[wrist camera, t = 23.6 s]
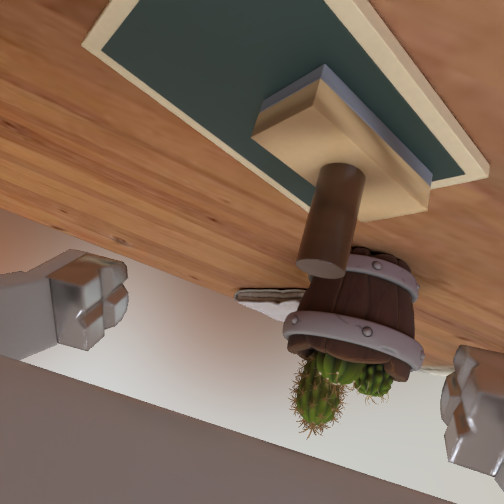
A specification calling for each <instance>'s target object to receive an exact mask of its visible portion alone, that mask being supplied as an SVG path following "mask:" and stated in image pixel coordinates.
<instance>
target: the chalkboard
mask: <svg viewBox="0 0 504 504" xmlns="http://www.w3.org/2000/svg"><path fill="white" fill-rule="evenodd" d="M81 46H82V47H84V48H85V49H87V50H88V51H89V52H91V53H92V54H93V55H95V56H96V57H97V58H99V59H100V60H102V61H103V62H104V63H106V64H107V65H108V66H110V67H111V68H112V69H114V70H115V71H117V72H118V73H119V74H121V75H122V76H123V77H125V78H126V79H127V80H129V81H130V82H131V83H133V84H134V85H136V86H137V87H138V88H140V89H141V90H142V91H144V92H145V93H146V94H148V95H149V96H151V97H152V98H153V99H155V100H156V101H157V102H159V103H160V104H161V105H163V106H164V107H166V108H167V109H168V110H170V111H171V112H172V113H174V114H175V115H176V116H178V117H179V118H180V119H182V120H183V121H185V122H186V123H187V124H189V125H190V126H191V127H193V128H194V129H195V130H197V131H198V132H200V133H201V134H202V135H204V136H205V137H206V138H208V139H209V140H210V141H212V142H213V143H214V144H216V145H217V146H219V147H220V148H221V149H223V150H224V151H225V152H227V153H228V154H229V155H231V156H232V157H234V158H235V159H236V160H238V161H239V162H240V163H242V164H243V165H244V166H246V167H247V168H249V169H250V170H251V171H253V172H254V173H255V174H257V175H258V176H259V177H261V178H262V179H263V180H265V181H266V182H268V183H269V184H270V185H272V186H273V187H274V188H276V189H277V190H278V191H280V192H281V193H283V194H284V195H285V196H287V197H288V198H289V199H291V200H292V201H293V202H295V203H296V204H298V205H299V206H300V207H302V208H303V209H304V210H306V211H307V212H308V213H309V210H310V206H311V202H312V199H313V195H314V191H315V186H313V185H312V184H311V183H310V182H308V181H307V180H306V179H304V178H303V177H302V176H300V175H299V174H298V173H296V172H295V171H294V170H292V169H291V168H290V167H289V166H287V165H286V164H285V163H283V162H282V161H281V160H279V159H278V158H277V157H275V156H274V155H273V154H272V153H270V152H269V151H268V150H266V149H265V148H264V147H262V146H261V145H260V144H258V143H257V142H256V141H254V140H253V139H252V138H251V135H252V132H253V129H254V126H255V123H256V121H257V118H258V115H259V112H260V109H261V106H262V103H263V101H264V100H265V99H267V98H268V97H270V96H272V95H273V94H275V93H277V92H278V91H280V90H282V89H283V88H285V87H287V86H288V85H290V84H292V83H293V82H295V81H297V80H298V79H300V78H302V77H303V76H305V75H307V74H308V73H310V72H312V71H313V70H315V69H317V68H318V67H320V66H322V65H323V64H326V65H327V66H328V67H329V68H330V69H331V70H332V71H333V72H334V73H335V74H336V75H337V76H338V77H339V78H340V79H341V80H342V81H343V82H344V83H345V84H346V85H347V86H348V88H349V89H350V90H351V91H352V92H353V93H354V94H355V95H356V96H357V97H358V98H359V99H360V100H361V101H362V102H363V103H364V104H365V105H366V106H367V107H368V108H369V109H370V110H371V111H372V112H373V113H374V114H375V115H376V116H377V117H378V118H379V119H380V120H381V121H382V122H383V123H384V124H385V125H386V126H387V127H388V129H389V130H390V131H391V132H392V133H393V134H394V135H395V136H396V137H397V138H398V139H399V140H400V141H401V142H402V143H403V144H404V145H405V146H406V147H407V148H408V149H409V150H410V151H411V152H412V153H413V154H414V155H415V156H416V157H417V158H418V159H419V160H420V161H421V162H422V163H423V164H424V165H425V166H426V167H427V169H428V170H429V171H430V172H431V173H432V174H433V176H432V183H431V189H435V188H440V187H445V186H450V185H455V184H460V183H464V182H469V181H474V180H479V179H484V178H488V175H489V164H488V162H487V161H486V159H485V158H484V157H483V155H482V154H481V153H480V151H479V150H478V149H477V147H476V146H475V145H474V143H473V142H472V141H471V139H470V138H469V136H468V135H467V134H466V132H465V131H464V130H463V128H462V127H461V126H460V124H459V123H458V122H457V120H456V119H455V118H454V116H453V115H452V114H451V112H450V111H449V109H448V108H447V107H446V105H445V104H444V103H443V101H442V100H441V99H440V97H439V96H438V95H437V93H436V92H435V91H434V89H433V88H432V87H431V85H430V84H429V82H428V81H427V80H426V78H425V77H424V76H423V74H422V73H421V72H420V70H419V69H418V68H417V66H416V65H415V64H414V62H413V61H412V60H411V58H410V57H409V55H408V54H407V53H406V51H405V50H404V49H403V47H402V46H401V45H400V43H399V42H398V41H397V39H396V38H395V37H394V35H393V34H392V33H391V31H390V30H389V28H388V27H387V26H386V24H385V23H384V22H383V20H382V19H381V18H380V16H379V15H378V14H377V12H376V11H375V10H374V8H373V7H372V6H371V4H370V3H369V1H368V0H110V1H109V2H108V4H107V5H106V7H105V8H104V10H103V11H102V13H101V14H100V16H99V17H98V19H97V20H96V21H95V23H94V24H93V26H92V27H91V29H90V30H89V32H88V33H87V35H86V37H85V39H84V40H83V42H82V44H81Z"/></svg>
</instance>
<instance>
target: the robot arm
mask: <svg viewBox="0 0 504 504" xmlns="http://www.w3.org/2000/svg"><path fill="white" fill-rule="evenodd" d="M127 278H128V275H127V266H126V265H125V264H124V262H121V261H118V260H114V259H110V258H107V257H103V256H99V255H95V254H91V253H88V252H84V251H79V250H74V249H69V250H67V251H65V252H63V253H61V254H60V255H58V256H56V257H54V258H52V259H50V260H48V261H46V262H45V263H43V264H41V265H39V266H37V267H35V268H33V269H31V270H29V271H28V272H22V271H18V272H12V273H6V274H1V275H0V504H456V503H453V502H450V501H447V500H443V499H441V498H438V497H434V496H431V495H428V494H425V493H422V492H419V491H416V490H413V489H410V488H407V487H404V486H401V485H398V484H395V483H391V482H388V481H386V480H382V479H379V478H376V477H373V476H370V475H367V474H364V473H361V472H358V471H355V470H352V469H349V468H345V467H343V466H340V465H336V464H334V463H330V462H327V461H324V460H321V459H318V458H315V457H312V456H309V455H306V454H303V453H300V452H297V451H294V450H291V449H287V448H284V447H282V446H278V445H275V444H272V443H269V442H266V441H263V440H260V439H257V438H254V437H251V436H248V435H244V434H242V433H238V432H236V431H233V430H229V429H226V428H223V427H220V426H217V425H214V424H211V423H208V422H205V421H202V420H199V419H195V418H193V417H190V416H187V415H184V414H180V413H178V412H174V411H171V410H168V409H165V408H162V407H159V406H156V405H153V404H150V403H147V402H144V401H141V400H138V399H135V398H132V397H129V396H126V395H123V394H120V393H116V392H113V391H110V390H107V389H104V388H101V387H98V386H95V385H92V384H89V383H86V382H83V381H80V380H77V379H74V378H71V377H68V376H65V375H62V374H58V373H55V372H52V371H49V370H46V369H43V368H40V367H37V366H34V365H31V364H28V363H25V362H22V361H19V360H21V359H24V358H26V357H28V356H31V355H33V354H36V353H38V352H40V351H43V350H45V349H47V348H50V347H52V346H55V345H57V343H59V344H63V345H67V346H70V347H74V348H78V349H81V350H85V351H88V350H89V349H90V348H92V347H93V346H94V345H95V344H96V343H97V342H98V341H99V340H100V339H101V338H103V337H104V330H105V329H107V328H111V327H114V326H116V325H117V324H118V323H119V322H120V321H121V320H122V318H123V316H124V314H125V313H126V310H127V306H128V301H129V300H128V292H127V290H126V288H125V287H124V285H123V283H124V282H125V281H126V280H127ZM453 362H454V367H455V372H453V373H451V374H450V375H448V376H447V377H446V380H445V383H444V386H443V390H442V395H441V403H440V404H441V405H440V406H441V408H440V409H441V418H442V420H443V421H444V422H445V423H446V425H447V426H448V427H447V429H446V432H445V435H444V438H445V444H446V450H447V456H448V461H449V462H451V463H454V464H457V465H460V466H463V467H466V468H469V469H472V470H475V471H478V472H481V473H484V474H487V475H490V476H493V477H495V481H496V482H497V483H498V485H499V486H500V487H501V489H502V490H503V491H504V354H503V353H498V352H494V351H489V350H485V349H480V348H476V347H471V346H467V345H460V346H459V348H458V349H457V351H456V354H455V356H454V359H453Z"/></svg>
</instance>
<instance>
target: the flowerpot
mask: <svg viewBox="0 0 504 504" xmlns="http://www.w3.org/2000/svg"><path fill="white" fill-rule="evenodd" d="M308 278H309V281H310V282H311V284H310V287H309V288H308V289H307V290H306V291H305V293H304V295H303V297H302V299H301V301H300V303H299V306H298V308H297V311H295V312H292V313H290V314H288V315H287V317H286V319H285V321H284V325H283V336H284V337H285V339H287V340H288V346H287V349H288V351H289V352H291V353H294V354H297V355H299V356H300V357H301V358H303V359H304V360H307V363H306V365H304V371H303V373H300V371H299V373H300V375H298V376H301V380H300V379H299V380H300V382H299V381H298V380H297V379H296V380H297V381H298V382H295V383H296V384H299V386H298V389H297V388H296V390H295V389H294V390H295V391H294V390H293V391H294V392H295V393H297V398H296V399H295V398H294V397H293V396H292V397H293V398H294V400H293V401H294V402H293V404H294V403H295V402H296V404H297V406H296V405H295V406H296V407H294V408H295V409H294V410H295V411H298V412H299V413H300V415H301V416H302V417H303V420H302V421H303V423H304V425H306V426H307V424H308V423H309V426H308V428H307V427H306V428H307V429H304V430H305V431H306V430H308V429H309V428H310V427H311V428H310V429H311V431H310V434H311V432H312V429H313V432H314V434H315V433H316V432H317V431H316V430H315V431H316V432H315V431H314V429H315V428H316V429H317V428H318V429H319V428H320V431H321V430H323V428H321V426H323V427H327V426H326V425H324V424H326V423H327V422H329V421H330V420H331V421H332V420H333V419H334V420H335V421H336V419H335V418H334V414H335V412H337V411H339V408H340V406H339V407H338V405H339V404H341V403H344V402H341V401H343V400H344V399H343V400H341V399H340V398H341V397H340V396H339V395H340V394H341V395H342V394H344V393H343V391H344V390H343V389H344V386H346V385H345V384H350V383H352V382H353V383H354V385H353V387H352V388H354V387H355V388H356V389H357V391H359V393H362V394H366V395H367V396H369V397H370V398H371V397H372V396H378V397H381V398H383V395H384V394H388V391H389V390H390V388H391V384H392V383H393V380H394V381H398V382H406V381H407V380H408V378H409V374H410V372H412V371H416V370H419V369H420V368H421V366H422V363H423V359H424V358H425V354H424V350H423V347H422V346H421V345H420V344H419V343H418V342H417V341H416V340H414V336H415V327H414V310H413V303H414V302H415V301H416V300H417V299H418V289H419V288H420V286H419V284H418V283H417V282H416V279H415V277H414V276H413V275H412V274H411V270H410V268H409V267H408V265H407V264H406V263H404V262H403V261H400V260H398V261H397V259H396V258H395V257H394V256H392V255H389V254H378V255H371V254H370V252H369V250H368V249H366V248H355V249H354V250H353V249H352V248H351V250H350V254H349V259H348V264H347V268H346V273H345V276H344V277H342V278H338V279H328V278H321V277H317V276H313V275H310V274H309V275H308ZM302 362H303V361H302ZM299 364H300V363H299ZM302 368H303V367H302ZM293 382H294V381H293ZM340 385H341V386H342V387H341V386H340ZM340 387H341V388H340ZM346 387H347V386H346ZM339 389H340V390H341V392H340V391H339ZM342 390H343V391H342ZM339 397H340V398H339ZM343 397H344V395H343ZM369 397H368V399H369ZM366 398H367V397H366ZM371 399H372V398H371ZM383 399H384V398H383ZM388 399H389V397H388ZM290 400H291V399H290ZM365 401H366V399H365ZM372 401H373V399H372ZM373 402H374V401H373ZM374 403H375V402H374ZM293 404H292V405H293ZM341 405H342V404H341ZM342 406H343V405H342ZM341 409H342V408H341ZM290 410H291V409H290ZM292 410H293V409H292ZM298 412H297V413H298ZM295 413H296V412H295ZM299 413H298V414H299ZM299 417H300V416H299ZM302 421H301V422H302ZM299 422H300V421H299ZM305 422H306V423H305ZM303 423H302V424H303ZM302 424H301V425H302ZM316 425H317V426H316ZM318 425H319V427H318ZM315 426H316V427H315ZM304 427H305V426H304ZM328 428H329V427H328ZM318 429H317V430H318ZM303 432H304V431H303ZM322 432H323V431H322ZM317 433H318V432H317ZM310 434H309V436H310ZM318 434H319V433H318ZM315 435H316V434H315ZM320 435H321V434H320ZM309 436H308V438H309Z"/></svg>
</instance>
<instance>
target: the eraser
mask: <svg viewBox="0 0 504 504" xmlns="http://www.w3.org/2000/svg"><path fill="white" fill-rule="evenodd" d="M251 138H252V139H253V140H254V141H256V142H257V143H258V144H260V145H261V146H262V147H264V148H265V149H266V150H268V151H269V152H270V153H272V154H273V155H274V156H275V157H277V158H278V159H279V160H281V161H282V162H283V163H285V164H286V165H287V166H289V167H290V168H291V169H292V170H294V171H295V172H296V173H298V174H299V175H300V176H302V177H303V178H304V179H306V180H307V181H308V182H310V183H311V184H312V185H313V186H315V191H314V195H313V199H312V202H311V206H310V210H309V214H308V218H307V221H306V225H305V229H304V233H303V237H302V241H301V244H300V248H299V252H298V256H297V260H296V266H297V267H298V268H299V269H300V270H302V271H304V272H306V273H308V274H310V275H313V276H317V277H321V278H328V279H338V278H342V277H344V276H345V273H346V268H347V264H348V259H349V254H350V250H351V245H352V240H353V236H354V231H355V227H356V222H357V219H358V220H359V221H361V222H362V223H364V222H369V221H374V220H380V219H385V218H391V217H396V216H402V215H407V214H413V213H418V212H423V211H427V209H428V202H429V196H430V189H431V183H432V176H433V174H432V173H431V172H430V171H429V170H428V169H427V167H426V166H425V165H424V164H423V163H422V162H421V161H420V160H419V159H418V158H417V157H416V156H415V155H414V154H413V153H412V152H411V151H410V150H409V149H408V148H407V147H406V146H405V145H404V144H403V143H402V142H401V141H400V140H399V139H398V138H397V137H396V136H395V135H394V134H393V133H392V132H391V131H390V130H389V129H388V127H387V126H386V125H385V124H384V123H383V122H382V121H381V120H380V119H379V118H378V117H377V116H376V115H375V114H374V113H373V112H372V111H371V110H370V109H369V108H368V107H367V106H366V105H365V104H364V103H363V102H362V101H361V100H360V99H359V98H358V97H357V96H356V95H355V94H354V93H353V92H352V91H351V90H350V89H349V88H348V86H347V85H346V84H345V83H344V82H343V81H342V80H341V79H340V78H339V77H338V76H337V75H336V74H335V73H334V72H333V71H332V70H331V69H330V68H329V67H328V66H327V65H326V64H323V65H322V66H320V67H318V68H317V69H315V70H313V71H312V72H310V73H308V74H307V75H305V76H303V77H302V78H300V79H298V80H297V81H295V82H293V83H292V84H290V85H288V86H287V87H285V88H283V89H282V90H280V91H278V92H277V93H275V94H273V95H272V96H270V97H268V98H267V99H265V100H264V101H263V103H262V106H261V109H260V112H259V115H258V118H257V121H256V123H255V126H254V129H253V132H252V135H251Z"/></svg>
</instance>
